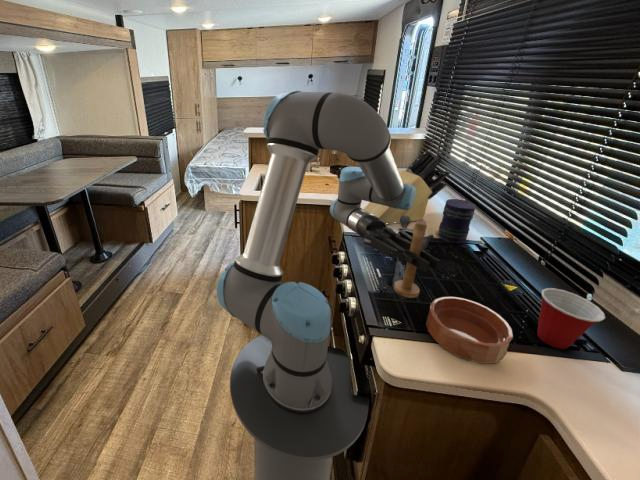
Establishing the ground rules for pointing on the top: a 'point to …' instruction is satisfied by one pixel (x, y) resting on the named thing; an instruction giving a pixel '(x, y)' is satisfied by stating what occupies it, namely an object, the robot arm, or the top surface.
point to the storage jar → (456, 220)
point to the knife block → (425, 189)
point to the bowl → (469, 329)
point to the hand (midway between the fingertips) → (432, 266)
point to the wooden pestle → (407, 285)
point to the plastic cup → (565, 317)
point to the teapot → (405, 222)
